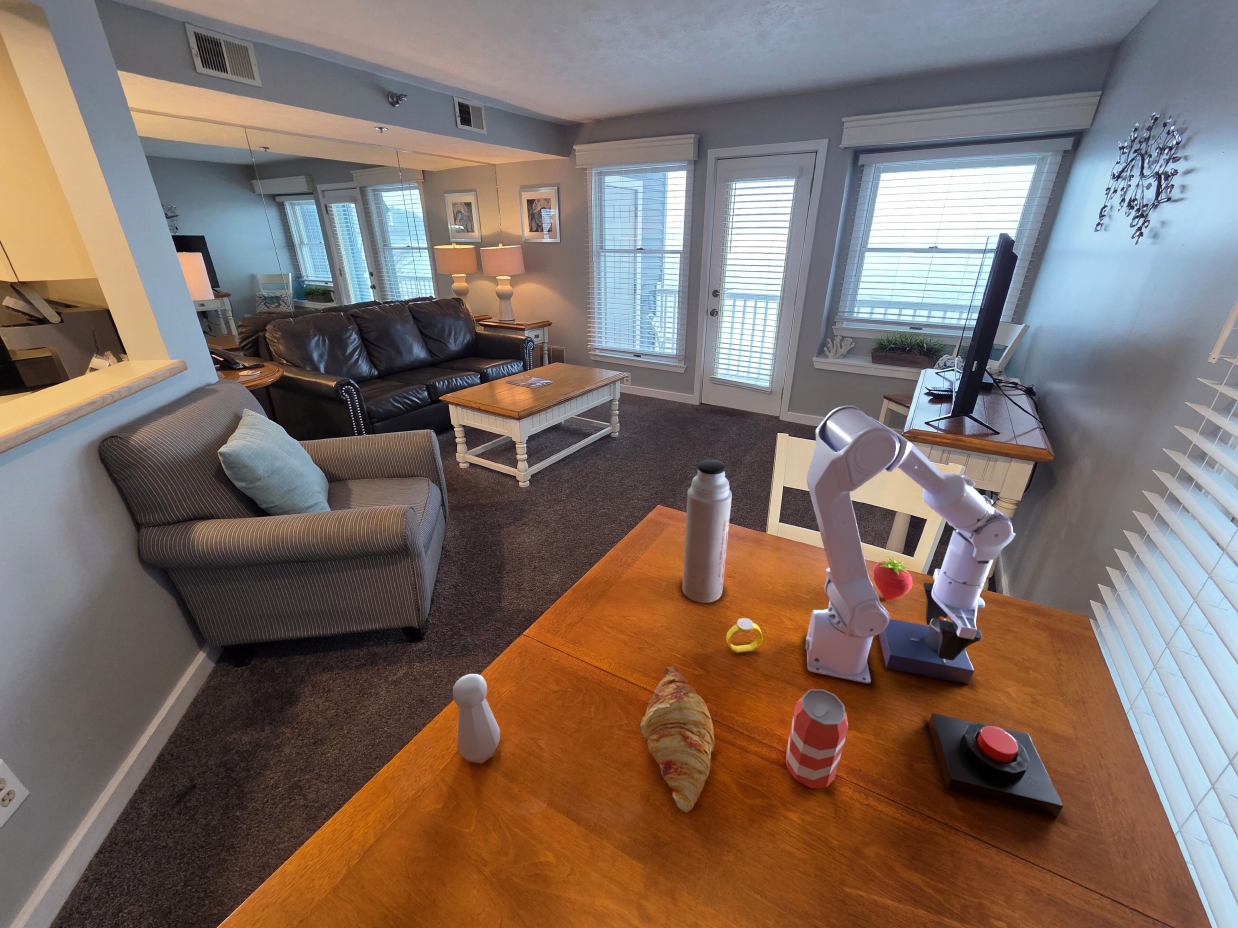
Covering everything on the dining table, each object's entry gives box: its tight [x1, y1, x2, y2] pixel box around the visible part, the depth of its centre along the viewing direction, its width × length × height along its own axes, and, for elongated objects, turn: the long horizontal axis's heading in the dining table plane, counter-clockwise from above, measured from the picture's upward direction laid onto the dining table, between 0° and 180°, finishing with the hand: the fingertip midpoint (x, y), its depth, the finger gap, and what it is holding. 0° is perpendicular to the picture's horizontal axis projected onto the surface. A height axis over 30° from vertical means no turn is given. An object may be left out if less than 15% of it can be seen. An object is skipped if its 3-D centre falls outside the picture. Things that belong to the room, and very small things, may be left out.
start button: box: [977, 726, 1018, 763], centre depth 66 cm, size 4×4×2 cm
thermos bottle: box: [681, 459, 733, 604], centre depth 95 cm, size 8×8×28 cm
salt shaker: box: [452, 673, 501, 765], centre depth 67 cm, size 6×6×13 cm
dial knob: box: [925, 616, 950, 652], centre depth 82 cm, size 4×4×4 cm
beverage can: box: [785, 688, 849, 789], centre depth 65 cm, size 6×6×12 cm
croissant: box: [639, 666, 715, 813], centre depth 70 cm, size 21×10×8 cm, turn 1°
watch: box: [725, 617, 764, 654], centre depth 85 cm, size 6×3×6 cm, turn 95°
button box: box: [927, 712, 1064, 818], centre depth 67 cm, size 12×10×4 cm
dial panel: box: [878, 618, 975, 685], centre depth 84 cm, size 12×9×3 cm
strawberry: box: [872, 556, 913, 601], centre depth 96 cm, size 6×8×10 cm
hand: (939, 640), depth 83 cm, fingers open, 7 cm apart
